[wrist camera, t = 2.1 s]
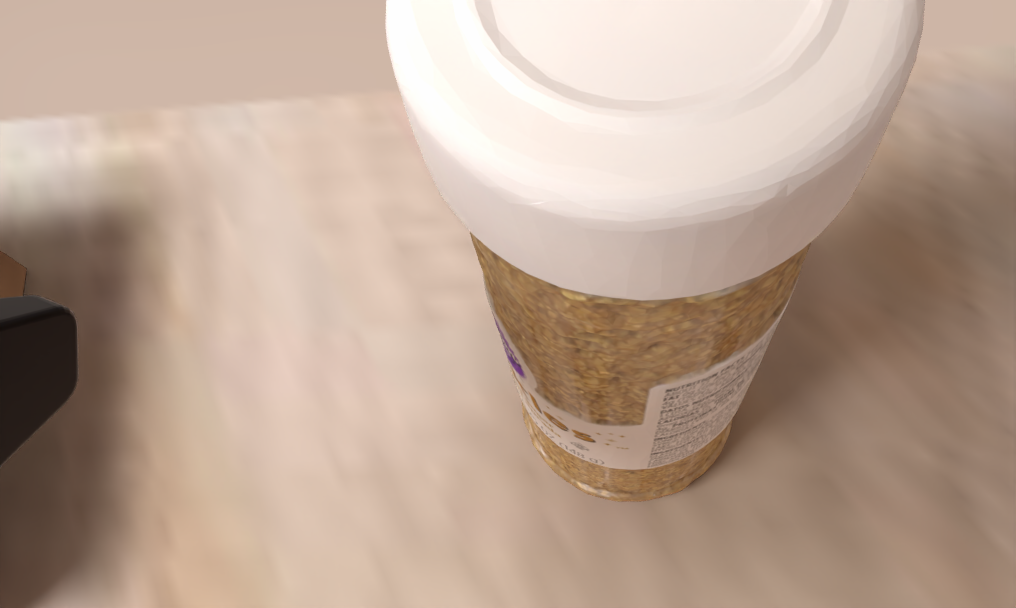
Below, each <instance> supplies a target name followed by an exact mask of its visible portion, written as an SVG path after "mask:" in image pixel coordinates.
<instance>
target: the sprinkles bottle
mask: <svg viewBox="0 0 1016 608" xmlns="http://www.w3.org/2000/svg"><path fill="white" fill-rule="evenodd" d="M924 5H925V0H386V35H387V43H388V49H389V53H390V58H391V62H392V66H393V70H394V74H395V77H396V80H397V84H398V87H399V90H400V93H401V96H402V100H403V103H404V106H405V109H406V112H407V115H408V119H409V122H410V125H411V128H412V131H413V133H414V136H415V138H416V141H417V143H418V146H419V148H420V151H421V153H422V156H423V158H424V161H425V163H426V166H427V168H428V170H429V172H430V174H431V176H432V178H433V180H434V183H435V185H436V187H437V189H438V191H439V193H440V194H441V196H442V198H443V199H444V200H445V202H446V203H447V204H448V206H449V207H450V208H451V209H452V211H453V212H454V213H455V215H456V216H457V217H458V218H459V219H460V221H461V222H462V223H463V224H464V225H465V226H466V227H467V229H468V230H469V231H470V234H471V238H472V241H473V244H474V247H475V250H476V253H477V256H478V260H479V262H480V265H481V268H482V271H483V280H484V285H485V290H486V295H487V299H488V302H489V305H490V307H491V310H492V313H493V316H494V319H495V322H496V325H497V328H498V330H499V333H500V336H501V339H502V342H503V345H504V348H505V352H506V355H507V358H508V362H509V366H510V369H511V372H512V376H513V379H514V382H515V385H516V387H517V391H518V393H519V395H520V397H521V400H522V406H523V417H524V421H525V424H526V426H527V429H528V431H529V433H530V436H531V439H532V442H533V445H534V446H535V448H536V449H537V451H538V452H539V454H540V455H541V456H542V458H543V459H544V461H545V462H546V463H547V464H548V465H549V466H550V467H551V468H552V470H553V471H554V472H556V473H557V474H558V475H559V476H560V477H562V478H563V479H564V480H566V481H567V482H569V483H570V484H572V485H573V486H575V487H576V488H578V489H580V490H581V491H583V492H585V493H587V494H590V495H593V496H597V497H600V498H604V499H608V500H613V501H619V502H620V501H637V502H638V501H646V500H651V499H655V498H660V497H663V496H666V495H670V494H673V493H676V492H679V491H682V490H683V489H684V488H685V487H687V486H688V485H689V484H690V483H691V482H692V481H693V480H695V479H697V478H698V477H700V476H701V475H703V474H704V473H705V472H706V470H707V469H708V468H709V467H710V466H711V465H712V464H713V463H714V461H715V460H716V459H717V457H718V456H719V455H720V453H721V451H722V449H723V447H724V445H725V442H726V441H727V439H728V436H729V433H730V430H731V425H732V418H733V416H734V415H735V414H736V412H737V410H738V408H739V406H740V404H741V402H742V400H743V398H744V396H745V394H746V392H747V390H748V388H749V386H750V384H751V382H752V380H753V378H754V376H755V373H756V371H757V369H758V367H759V365H760V363H761V361H762V358H763V356H764V354H765V352H766V350H767V347H768V345H769V343H770V341H771V338H772V336H773V334H774V332H775V330H776V328H777V326H778V324H779V322H780V320H781V318H782V316H783V314H784V312H785V310H786V308H787V305H788V303H789V300H790V298H791V296H792V293H793V291H794V289H795V286H796V284H797V281H798V278H799V275H800V272H801V267H802V263H803V261H804V259H805V257H806V254H807V252H808V249H809V246H810V244H811V241H812V240H814V239H815V238H816V237H817V236H818V235H819V234H821V233H822V232H823V231H824V230H825V229H826V228H827V227H828V225H829V224H830V223H831V222H832V221H833V220H834V219H835V218H836V217H837V215H838V214H839V213H840V212H841V211H842V209H843V208H844V207H845V206H846V205H847V203H848V202H849V200H850V198H851V196H852V195H853V193H854V191H855V190H856V188H857V186H858V185H859V183H860V181H861V179H862V178H863V176H864V174H865V172H866V170H867V168H868V166H869V164H870V162H871V160H872V158H873V156H874V154H875V152H876V150H877V148H878V146H879V144H880V142H881V139H882V137H883V135H884V133H885V131H886V128H887V126H888V124H889V122H890V120H891V117H892V115H893V113H894V111H895V109H896V106H897V104H898V102H899V100H900V98H901V95H902V93H903V91H904V89H905V86H906V83H907V81H908V78H909V76H910V73H911V71H912V68H913V65H914V63H915V60H916V56H917V52H918V47H919V43H920V38H921V34H922V30H923V19H924Z"/></svg>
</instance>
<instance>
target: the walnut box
mask: <svg viewBox="0 0 1016 608" xmlns="http://www.w3.org/2000/svg"><path fill="white" fill-rule="evenodd" d="M26 269H27V268H25V267H24V266H22V265H21V264H19V263H18V262H16V261H15V260H13V259H12V258H10V257H9V256H7V255H6V254H5V253H3V252H2V251H0V298H6V297H17V296H23V290H24V283H25V276H26Z"/></svg>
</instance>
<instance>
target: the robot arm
mask: <svg viewBox="0 0 1016 608" xmlns="http://www.w3.org/2000/svg"><path fill="white" fill-rule="evenodd" d="M78 375H79V373H78V324H77V319H76V317H75V315H74V312H73V311H72V310H70V309H69V308H68V307H66V306H64V305H61V304H59V303H56V302H54V301H52V300H49V299H47V298H44V297H41V296H36V295H28V296H17V297H6V298H0V467H1V466H2V465H3V464H4V463H5V462H6V461H7V460H8V459H10V458H11V457H12V456H13V455H14V454H15V453H16V452H17V451H18V450H19V449H20V448H21V447H22V446H23V445H24V444H25V443H26V442H27V441H28V440H29V439H30V438H31V437H32V436H33V435H34V434H35V433H36V432H37V431H38V430H39V429H40V428H41V427H42V426H43V425H44V424H45V423H46V422H47V421H48V420H49V419H50V418H51V417H52V416H53V415H54V414H55V413H56V412H57V411H58V410H59V409H60V408H61V407H62V406H63V405H64V404H65V403H66V402H67V401H68V400H69V399H70V397H71V396H72V394H73V393H74V390H75V388H76V386H77V382H78Z"/></svg>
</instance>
